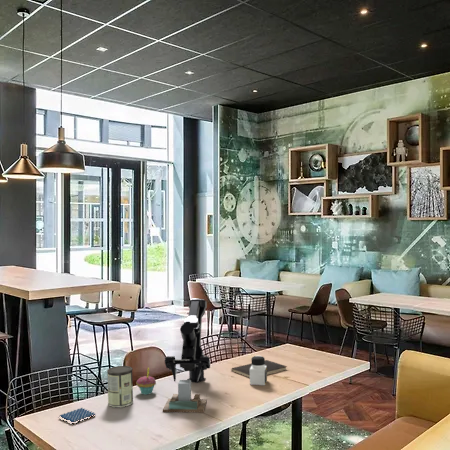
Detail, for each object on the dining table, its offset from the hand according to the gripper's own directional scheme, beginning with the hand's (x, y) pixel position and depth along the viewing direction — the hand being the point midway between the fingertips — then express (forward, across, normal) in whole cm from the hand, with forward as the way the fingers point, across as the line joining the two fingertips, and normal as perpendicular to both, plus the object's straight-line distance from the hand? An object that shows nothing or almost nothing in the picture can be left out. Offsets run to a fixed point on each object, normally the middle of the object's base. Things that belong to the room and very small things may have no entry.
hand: (185, 381), depth 197 cm
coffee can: (+6, +28, -7) cm, 29 cm away
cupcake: (-2, +20, -16) cm, 26 cm away
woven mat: (+18, +40, +4) cm, 44 cm away
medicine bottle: (-13, -29, -27) cm, 42 cm away
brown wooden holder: (+8, 0, -5) cm, 10 cm away
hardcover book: (-26, -30, -41) cm, 57 cm away
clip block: (+8, 0, -4) cm, 9 cm away
